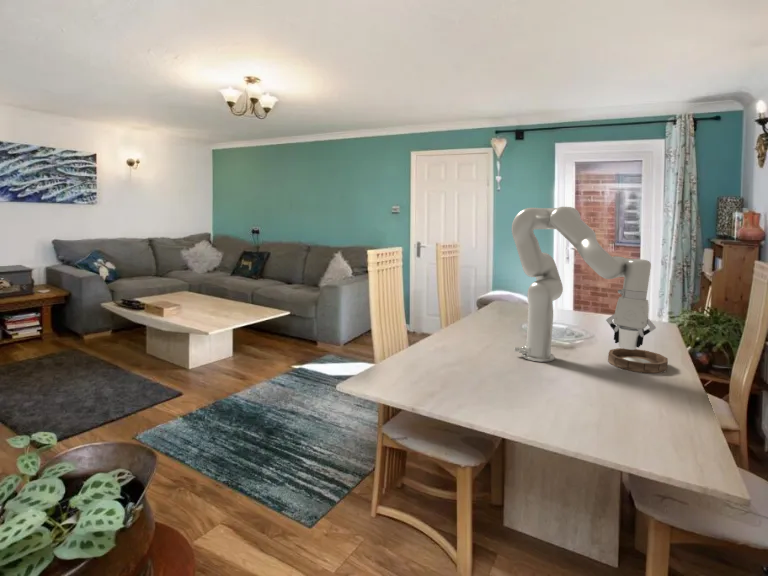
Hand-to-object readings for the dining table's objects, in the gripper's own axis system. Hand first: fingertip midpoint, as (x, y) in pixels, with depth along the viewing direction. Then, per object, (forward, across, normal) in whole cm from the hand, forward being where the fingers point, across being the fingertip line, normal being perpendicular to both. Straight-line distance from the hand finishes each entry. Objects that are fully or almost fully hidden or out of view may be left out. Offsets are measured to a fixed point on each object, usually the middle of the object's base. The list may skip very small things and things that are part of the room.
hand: (627, 344), depth 162 cm
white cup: (+1, 0, 0) cm, 1 cm away
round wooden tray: (+12, +1, +18) cm, 21 cm away
